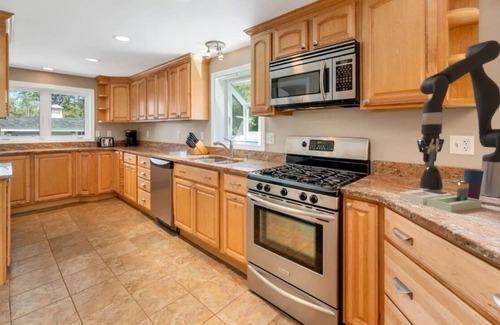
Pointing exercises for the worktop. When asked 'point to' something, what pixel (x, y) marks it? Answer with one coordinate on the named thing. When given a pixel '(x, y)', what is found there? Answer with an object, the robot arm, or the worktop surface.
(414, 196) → the battery tester
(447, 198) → the trough rack
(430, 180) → the black tapered dome
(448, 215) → the worktop surface
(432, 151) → the cell
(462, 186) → the cell
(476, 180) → the cup
